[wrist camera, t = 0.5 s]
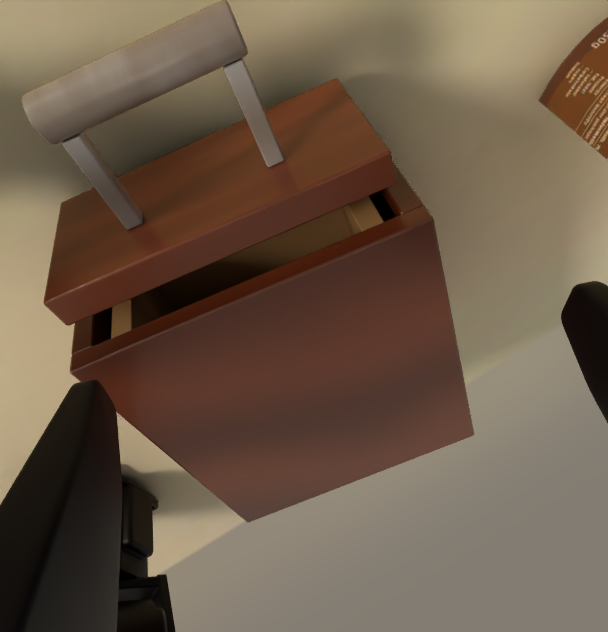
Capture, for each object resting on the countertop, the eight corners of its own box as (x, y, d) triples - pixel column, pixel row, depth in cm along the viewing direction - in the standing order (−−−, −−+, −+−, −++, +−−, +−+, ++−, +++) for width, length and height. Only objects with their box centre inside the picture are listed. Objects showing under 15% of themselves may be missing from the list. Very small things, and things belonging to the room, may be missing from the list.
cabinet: (83, 236, 22) (68, 372, 17) (359, 113, 21) (434, 217, 16) (229, 406, 33) (247, 523, 27) (418, 329, 32) (475, 435, 26)
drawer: (-37, 87, 17) (-92, 179, 13) (293, -73, 16) (348, -28, 12) (216, 386, 30) (229, 479, 26) (404, 309, 29) (448, 392, 25)
